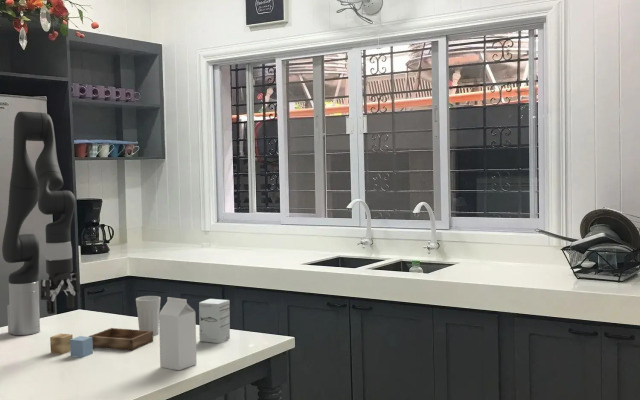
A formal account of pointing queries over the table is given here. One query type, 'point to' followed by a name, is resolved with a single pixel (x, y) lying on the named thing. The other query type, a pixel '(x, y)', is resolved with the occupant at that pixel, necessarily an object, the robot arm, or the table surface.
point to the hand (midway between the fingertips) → (61, 310)
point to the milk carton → (177, 334)
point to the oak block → (60, 343)
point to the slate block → (81, 346)
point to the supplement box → (214, 320)
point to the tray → (122, 339)
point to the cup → (148, 313)
